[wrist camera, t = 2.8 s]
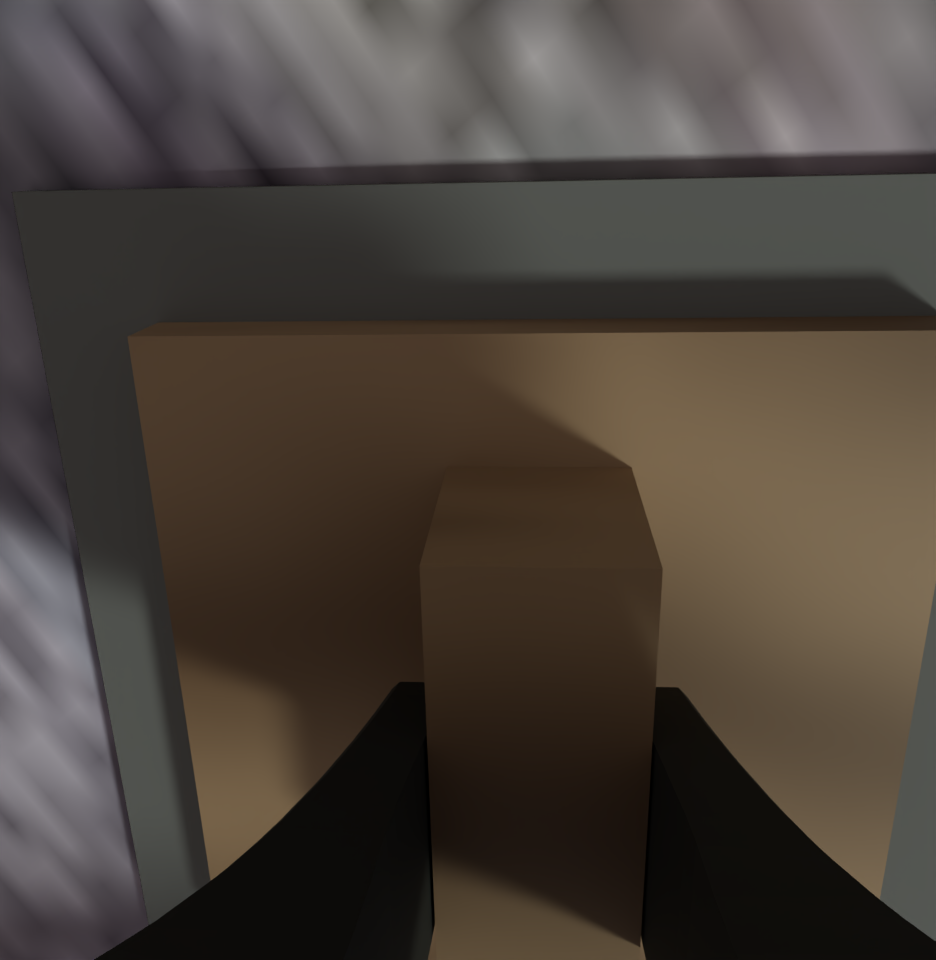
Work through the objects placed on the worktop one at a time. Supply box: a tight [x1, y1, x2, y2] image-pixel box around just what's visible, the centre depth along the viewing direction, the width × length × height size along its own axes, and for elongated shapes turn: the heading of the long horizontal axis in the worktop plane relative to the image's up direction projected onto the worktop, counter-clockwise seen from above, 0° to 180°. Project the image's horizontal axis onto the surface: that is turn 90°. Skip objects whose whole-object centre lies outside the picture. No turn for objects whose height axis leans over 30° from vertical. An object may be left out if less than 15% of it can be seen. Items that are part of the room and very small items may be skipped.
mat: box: [12, 173, 936, 941], centre depth 14 cm, size 14×14×1 cm
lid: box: [128, 316, 936, 960], centre depth 12 cm, size 10×10×4 cm
